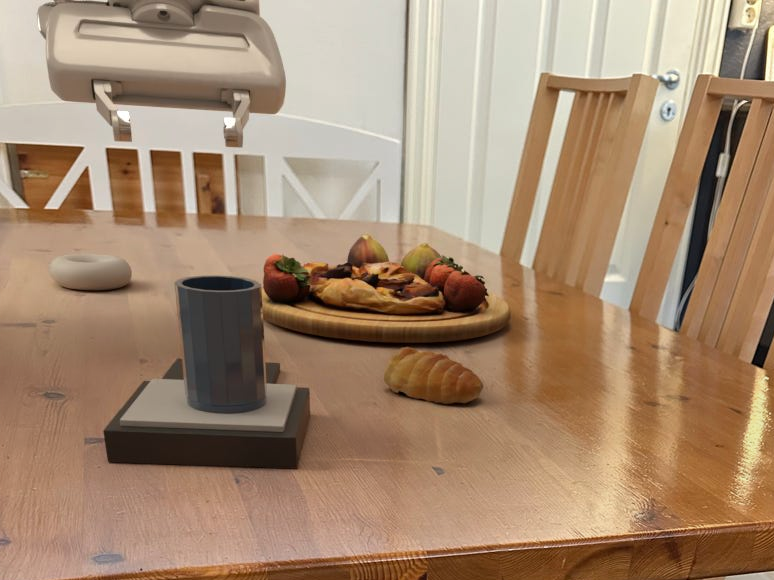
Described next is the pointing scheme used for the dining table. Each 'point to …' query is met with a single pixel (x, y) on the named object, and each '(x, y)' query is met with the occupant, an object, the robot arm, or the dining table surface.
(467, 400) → the pastry
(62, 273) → the donut
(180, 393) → the scale
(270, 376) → the pad
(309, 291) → the wooden plate
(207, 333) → the cup
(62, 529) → the dining table surface
